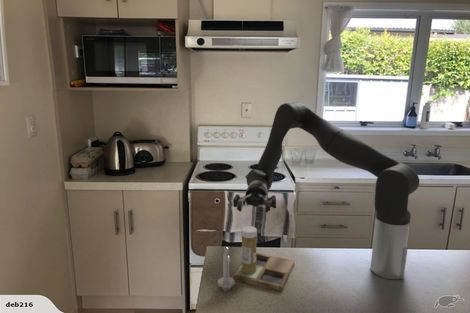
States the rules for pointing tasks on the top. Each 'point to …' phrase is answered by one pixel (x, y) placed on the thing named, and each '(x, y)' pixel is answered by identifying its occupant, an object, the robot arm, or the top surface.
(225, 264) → the screw
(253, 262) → the sprinkles bottle
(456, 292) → the top surface
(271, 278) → the board
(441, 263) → the top surface
